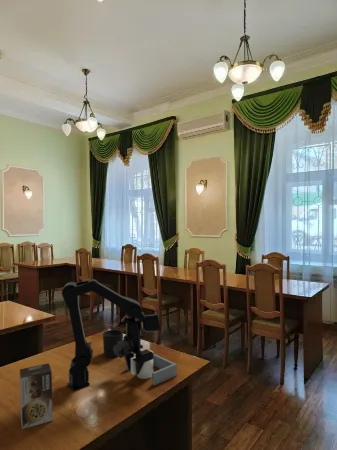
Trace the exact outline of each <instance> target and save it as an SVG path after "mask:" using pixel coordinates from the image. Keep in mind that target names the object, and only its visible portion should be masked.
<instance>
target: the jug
mask: <svg viewBox="0 0 337 450" xmlns="http://www.w3.org/2000/svg"><path fill="white" fill-rule="evenodd" d="M140 350H141V351H143V350H144V349H140ZM148 350H149V351H151V352H153V351H152V350H150V349H148ZM153 353H154V352H153ZM135 358H136V357H133V358H131V370H130V374H132V375H133V376H134V375H136V377H137V378H138V379H140V380H141V379H142V380H147V379H150V378H151V379H152V373H153V372H154V365H153V359H152V360H150V361H147V362H145V363H144V365H143V367H142V369H141V371H140V373H139V374H138V375H137V374H136V366H135V362H134V361H133V360H132V359H135Z"/></svg>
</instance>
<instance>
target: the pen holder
mask: <svg viewBox="0 0 337 450" xmlns="http://www.w3.org/2000/svg"><path fill="white" fill-rule="evenodd" d="M123 337H124V333H123V331H121V330H119V329H109V330H105V331H104V332H103V333H102V343H103V345H102V346H103V354H104V356H105V357H108V358H117V357H118V356H116V355H115V353H114V350H113V347H114V346H115V344H116V342H119V341H122V340H123Z"/></svg>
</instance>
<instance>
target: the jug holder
mask: <svg viewBox="0 0 337 450" xmlns="http://www.w3.org/2000/svg"><path fill="white" fill-rule="evenodd" d="M134 357H136V355H134ZM153 367H156V368H158V370H156V371H153V373H152V377H151V385H152V386H156V385H158V384H160V383H163V382H165V381H167V380H169V379H172V378H174V377H176V376H178V364H177V363H175V362H173V361H171V360H169V359H167V358H165V357H162V356H159V355H158V354H156V353H154V359H153ZM125 370H126V371H129V370H128V367H127V364H126V363H125Z"/></svg>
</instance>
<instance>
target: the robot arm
mask: <svg viewBox="0 0 337 450" xmlns="http://www.w3.org/2000/svg"><path fill="white" fill-rule="evenodd" d="M90 292H93V293H95V294H96V295H98V296H100V297H101V298H103V299H104V300H107V301H108V302H110V303H112V304H114V305H115V306H117V307H118V308H119V309H120V310H121V311H122V312H124V314H126V315H124V316H123V317H122V318H121V323H122V324H125V332H126V333H125V335H124V334H123V340H122V341H119V342H116V344H115V346H114V347H113V350H114V353H115V355H116V356H117V357H118V358H120V359H122V358H124V359H125V365H126V364H127V367H128V370H127V371H131V358H133V357H134V356H136V358H135V359H132V360H133V361H134V362H135V366H136V374H135V375H136V376H137V375H138V374H139V373H140V371H141V369H142V367H143V365H144V363H145V362H147V361H150V360H152V359H154V354H155V353H154V352H151V351H152V350H151V351H149V350H150V349H147V348H145V349H144V344H141V342H142V341H141V339H143V337H144V335H143V334H142V333H141V330H143V331H144V333H155V332H160V331H161V330H160V329H161V324H160V319H159V314H158V313H153V314H145V312H144V311H143V310H142V307H141V305H140V303H139V301H138V300H135V299H134V298H130V297H127V296H124V295H121V294H119V293H118V292H116V291H114V290H113V289H111V288H109V287H107V286H105V285H104V284H103V283H100V282H99V281H97V279H94V278H93V279H89V280H84V281H78V282H74V281H70V282H67V283H66V284H65V285H64V287H63V288H62V290H61V295H62V299H63V300H64V303H65V305H66V307H67V309H68V312H69V313H68V314H69V318H70V323H71V328H72V329H71V330H72V333H73V337H74V344H75V348H74V349H75V350H74V353H75V354H74V357H73V358H72V359H71V361H70V364H69V365H70V366H69V369H68V382H67V383H66V385H67V386H68V387H69V388H70V389H72V390H73V391H75V392H76V391H78V390H80V389H83V388H86V387H89V386H90V384H91V383H90V382H89V381H90V380H89V379H90V376H89V375H90V374H89V373H90V371H89V369H88V367H89V366H90V364H91V361H92V359H93V355H94V354H93V353H94V350H93V348H92V342H91V341H89V342H88V341H87V339H86V336H85V330H84V325H83V320H82V319H83V318H82V314H81V309H80V296H82V295H86V294H87V293H90ZM141 350H143V351H141Z"/></svg>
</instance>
